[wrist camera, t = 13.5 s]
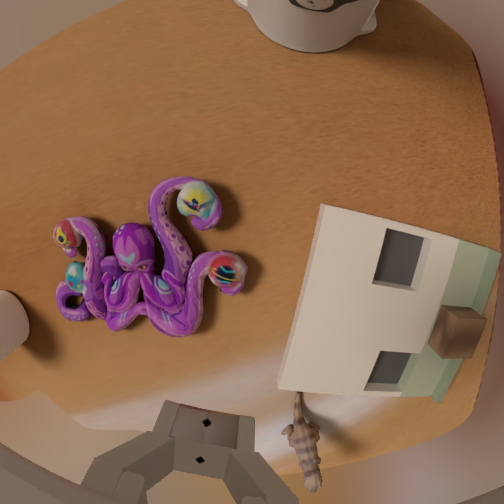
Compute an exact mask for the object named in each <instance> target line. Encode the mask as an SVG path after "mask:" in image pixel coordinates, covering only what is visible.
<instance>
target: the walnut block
mask: <svg viewBox="0 0 504 504" xmlns="http://www.w3.org/2000/svg"><path fill="white" fill-rule="evenodd" d="M486 321H487V319H485V318H484V317H483V316H481V315H480V314H478V313H477V312H476V311H474V310H473V309H471V308H470V307H459V306H449V305H441V307H440V310H439V313H438V316H437V319H436V321H435V324H434V327H433V330H432V333H431V335H430V338H429V341H428V344H429V345H430V347H431V348H432V349H433V350H434V351H435V352H436V353H437V354H438V355H439V356H440V358H441V359H459V358H472V356H473V353H474V351H475V349H476V346H477V344H478V341H479V339H480V336H481V334H482V331H483V329H484V326H485V323H486Z"/></svg>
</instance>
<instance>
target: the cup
mask: <svg viewBox="0 0 504 504" xmlns="http://www.w3.org/2000/svg"><path fill="white" fill-rule="evenodd" d="M28 335H29V320H28V316H27V314H26V311H25V309H24V307H23V306H22V304H21V303H20V301H19V300H18V299H17V298H16V297H15V296H14V295H13V294H11V293H10V292H7V291H0V362H1V361H2V360H3V359H4V358H5V357H7V356H8V355H9V354H10V353H11V352H13V351H14V350H15V349H16V348H18V347H19V346H20V345H21V344H22V343H24V342H25V341H26V339H27V338H28Z"/></svg>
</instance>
